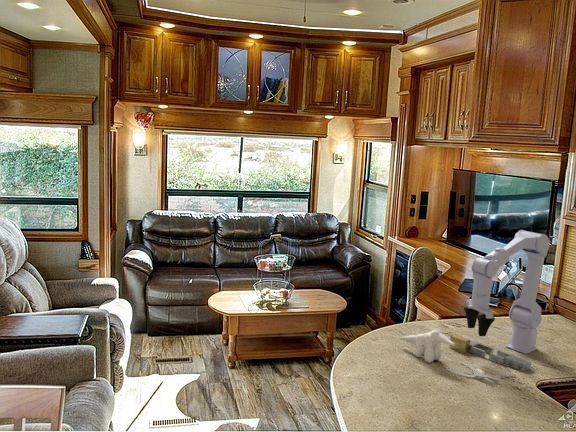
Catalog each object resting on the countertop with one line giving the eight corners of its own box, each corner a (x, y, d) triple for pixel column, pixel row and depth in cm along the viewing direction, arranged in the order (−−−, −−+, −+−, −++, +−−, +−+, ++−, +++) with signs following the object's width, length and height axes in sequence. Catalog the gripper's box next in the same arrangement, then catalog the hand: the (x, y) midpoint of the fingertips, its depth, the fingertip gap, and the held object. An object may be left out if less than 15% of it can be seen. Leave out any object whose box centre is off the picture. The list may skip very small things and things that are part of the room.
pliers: (462, 360, 174) (504, 377, 163) (462, 364, 175) (503, 382, 163) (445, 366, 168) (487, 384, 157) (444, 370, 169) (486, 389, 157)
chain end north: (498, 355, 184) (498, 349, 184) (531, 368, 175) (532, 361, 175) (488, 359, 180) (489, 353, 179) (523, 372, 171) (524, 365, 170)
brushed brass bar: (453, 346, 191) (455, 334, 190) (468, 351, 186) (470, 339, 185) (449, 347, 189) (450, 335, 188) (464, 353, 184) (465, 341, 184)
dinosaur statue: (447, 370, 166) (448, 336, 165) (390, 351, 185) (391, 320, 184) (460, 366, 170) (461, 333, 169) (403, 347, 189) (404, 317, 189)
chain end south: (462, 342, 194) (463, 336, 194) (492, 353, 185) (493, 347, 185) (453, 346, 190) (453, 339, 190) (483, 357, 181) (484, 351, 181)
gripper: (460, 287, 183) (455, 324, 185) (480, 299, 168) (475, 339, 170) (479, 287, 184) (474, 324, 186) (501, 300, 169) (495, 339, 171)
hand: (476, 331), depth 178 cm, fingers open, 7 cm apart
